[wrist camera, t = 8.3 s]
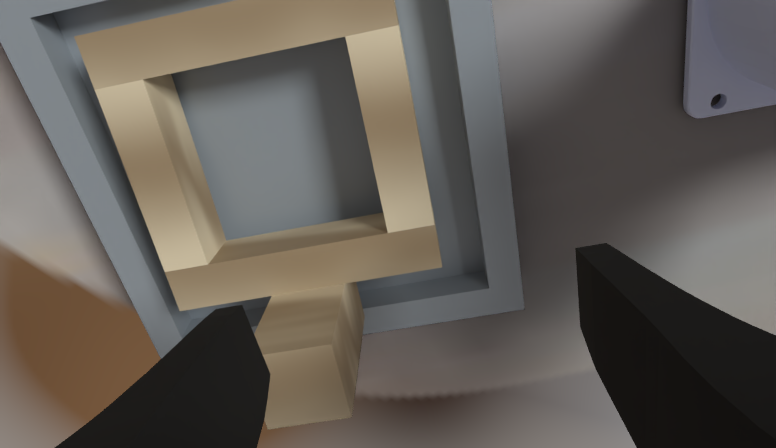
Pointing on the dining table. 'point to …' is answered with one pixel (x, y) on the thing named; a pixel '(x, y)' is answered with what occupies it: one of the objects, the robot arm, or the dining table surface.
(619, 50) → the dining table surface
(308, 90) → the slate tray
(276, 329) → the tan frame with tab
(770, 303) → the dining table surface
